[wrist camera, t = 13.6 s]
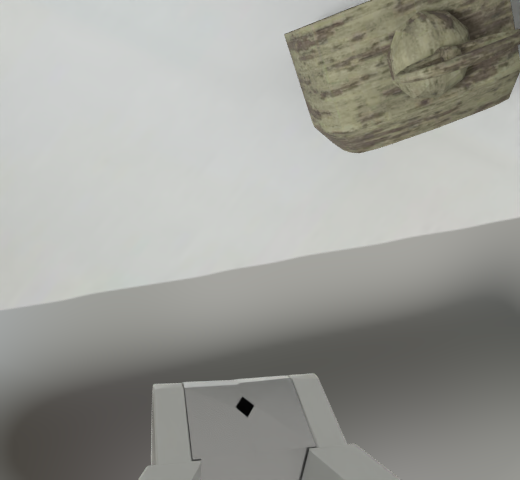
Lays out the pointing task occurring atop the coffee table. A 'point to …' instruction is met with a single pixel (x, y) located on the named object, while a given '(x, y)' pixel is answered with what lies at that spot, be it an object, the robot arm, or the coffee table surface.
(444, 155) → the coffee table surface
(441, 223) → the coffee table surface
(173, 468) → the robot arm
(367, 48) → the tabletop clock
